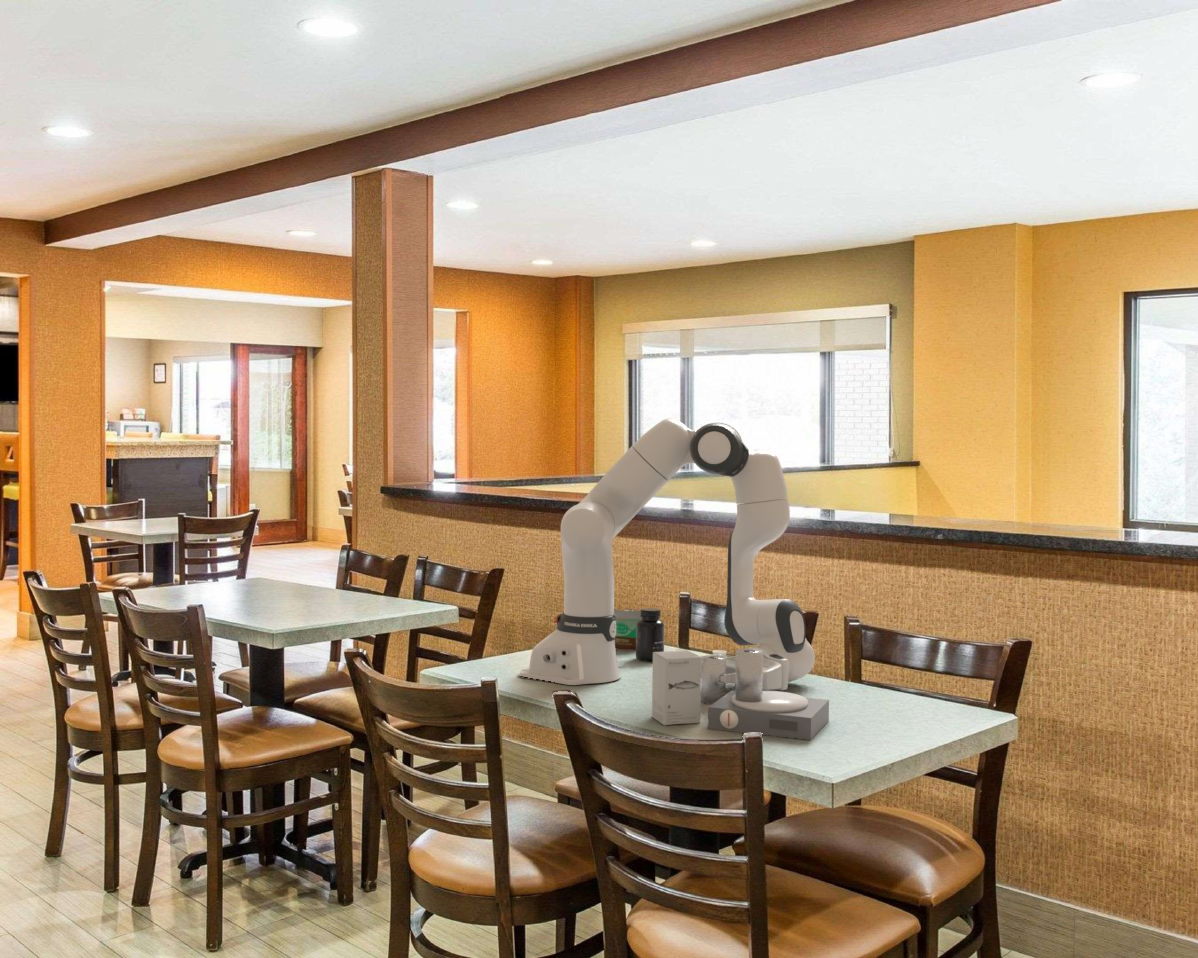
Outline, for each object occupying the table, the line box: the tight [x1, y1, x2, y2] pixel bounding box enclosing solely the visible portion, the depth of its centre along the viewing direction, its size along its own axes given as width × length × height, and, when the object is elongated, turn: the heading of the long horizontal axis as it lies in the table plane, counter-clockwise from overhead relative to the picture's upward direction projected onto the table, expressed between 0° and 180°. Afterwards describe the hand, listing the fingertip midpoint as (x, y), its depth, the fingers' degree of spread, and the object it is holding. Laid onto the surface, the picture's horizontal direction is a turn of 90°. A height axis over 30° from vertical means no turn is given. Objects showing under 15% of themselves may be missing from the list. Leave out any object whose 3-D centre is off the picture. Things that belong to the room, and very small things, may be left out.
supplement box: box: [651, 650, 702, 727], centre depth 214 cm, size 7×7×13 cm
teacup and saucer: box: [712, 649, 727, 656], centre depth 264 cm, size 9×8×4 cm
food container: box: [614, 608, 641, 651], centre depth 285 cm, size 12×6×10 cm, turn 71°
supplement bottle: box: [635, 607, 665, 662], centre depth 271 cm, size 7×7×12 cm
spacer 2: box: [734, 648, 764, 702], centre depth 210 cm, size 5×5×9 cm
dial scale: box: [707, 689, 830, 741], centre depth 211 cm, size 19×15×5 cm
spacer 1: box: [701, 654, 727, 705], centre depth 229 cm, size 5×5×9 cm
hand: (710, 676), depth 228 cm, fingers closed on spacer 1, 5 cm apart
